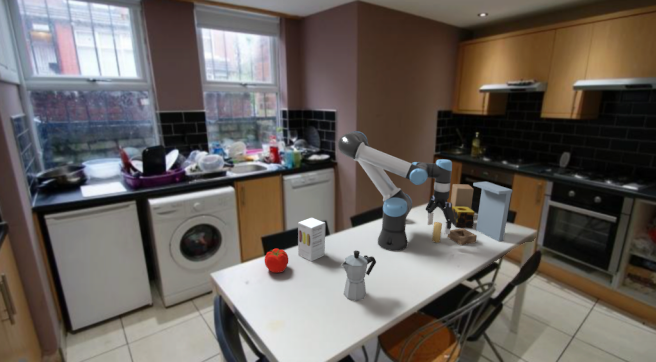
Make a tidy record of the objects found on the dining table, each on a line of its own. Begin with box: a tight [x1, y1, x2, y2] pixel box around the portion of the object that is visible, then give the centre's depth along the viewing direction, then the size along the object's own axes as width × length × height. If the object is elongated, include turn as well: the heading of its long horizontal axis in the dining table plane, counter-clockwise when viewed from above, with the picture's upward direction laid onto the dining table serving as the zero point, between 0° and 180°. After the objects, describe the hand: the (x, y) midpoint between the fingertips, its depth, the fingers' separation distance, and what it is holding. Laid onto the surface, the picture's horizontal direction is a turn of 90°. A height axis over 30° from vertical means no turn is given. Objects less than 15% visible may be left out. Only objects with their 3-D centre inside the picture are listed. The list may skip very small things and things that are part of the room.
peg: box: [431, 221, 443, 244], centre depth 167 cm, size 4×4×10 cm
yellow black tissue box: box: [451, 207, 476, 229], centre depth 189 cm, size 10×10×10 cm
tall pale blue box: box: [473, 181, 513, 243], centre depth 171 cm, size 9×17×28 cm, turn 20°
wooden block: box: [450, 183, 474, 210], centre depth 202 cm, size 10×10×20 cm
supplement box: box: [297, 217, 326, 262], centre depth 150 cm, size 10×9×17 cm
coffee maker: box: [340, 250, 377, 302], centre depth 120 cm, size 15×9×18 cm, turn 114°
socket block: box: [447, 228, 478, 246], centre depth 169 cm, size 10×10×4 cm
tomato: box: [264, 248, 289, 274], centre depth 137 cm, size 11×11×9 cm
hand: (438, 229), depth 166 cm, fingers open, 13 cm apart
